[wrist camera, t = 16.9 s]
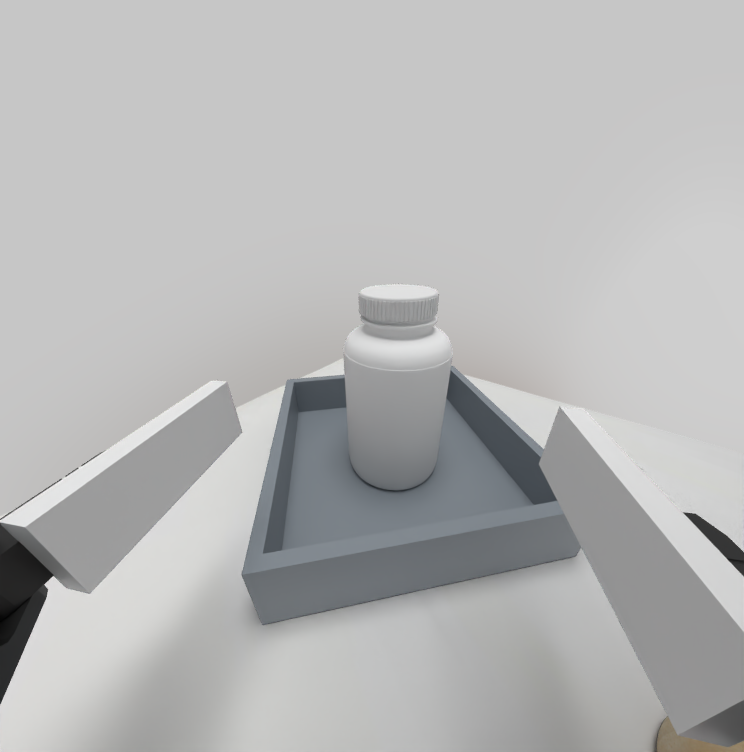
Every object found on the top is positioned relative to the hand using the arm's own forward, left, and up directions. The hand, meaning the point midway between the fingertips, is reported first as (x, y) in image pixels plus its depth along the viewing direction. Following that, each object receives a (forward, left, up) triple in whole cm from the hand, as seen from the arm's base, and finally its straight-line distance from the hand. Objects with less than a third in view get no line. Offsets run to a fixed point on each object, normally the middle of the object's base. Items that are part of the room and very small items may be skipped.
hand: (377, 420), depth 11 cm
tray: (-3, -9, -12) cm, 16 cm away
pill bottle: (-3, -9, -12) cm, 15 cm away
